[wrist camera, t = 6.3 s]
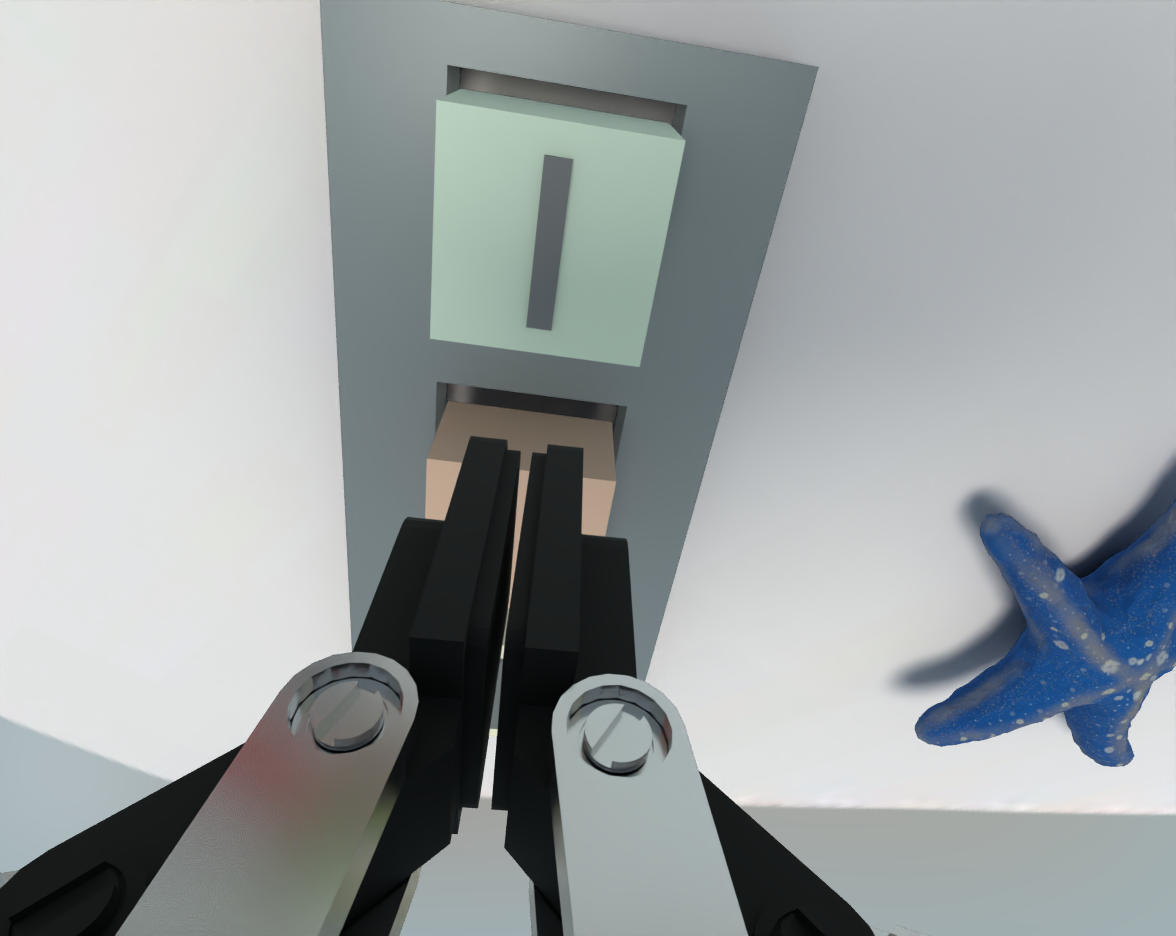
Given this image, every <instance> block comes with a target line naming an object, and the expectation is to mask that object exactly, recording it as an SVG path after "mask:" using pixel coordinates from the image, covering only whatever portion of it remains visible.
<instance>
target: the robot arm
mask: <svg viewBox="0 0 1176 936" xmlns="http://www.w3.org/2000/svg"><path fill="white" fill-rule="evenodd" d="M583 454H584V448H580V447H570V446H561V445H552V444H548V446H547V454H546V453H536V452H532V457H531V464H530V471H529V478H528V485H527V491H526V498H525V505H524V512H523V519H522V526H521V532H520V539H519V546H518V553H517V560H516V567H515V573H514V580H513V587H512V594H511V601H510V608H509V614H508V621H507V629H506V636H505V645H504V654H503V665H502V678H501V691H500V704H499V717H498V730H497V743H496V756H495V769H494V782H493V795H492V808H491V809H493V810H507V811H508V817H507V826H506V836H505V846H504V847H505V849H506V850H507V851H508V852H509V854H510V855H511V856H512V857H513V858H514V860H515V861H516V862H517V863H518V865H519V866H520V867H521V868H522V869H523V871H524V872H525V873H526V874H527V876H528V877H529V878H530V882H529V901H530V917H531V932H532V936H929V935H926V934H923V933H919V932H917V931H914V930H910V929H907V928H904V927H901V926H898V925H896V926H895V927H894V928H893V930H892V931H891V932H890V933H888V932H885V931H882V930H879V929H876V928H873V927H870V926H869V925H868V924H867V923H866V922H865V921H864V920H863V919H862V918H861V917H860V916H859V915H858V913H857V912H856V911H855V910H854V909H853V908H852V907H851V906H850V905H849V904H848V903H847V902H846V901H845V900H843V898H841V897H840V896H839V895H838V894H837V893H836V892H835V891H834V890H832V889H831V888H830V887H829V886H828V885H827V884H826V883H825V882H823V881H822V880H821V879H820V878H819V877H818V876H817V875H816V874H814V873H813V872H812V871H811V870H810V869H809V868H808V867H806V866H805V865H804V864H803V863H802V862H801V861H800V860H799V859H797V858H796V857H795V856H794V855H793V854H792V853H791V852H790V851H788V850H787V849H786V848H785V847H784V846H783V845H782V844H781V843H779V842H778V841H777V840H776V839H775V838H774V837H773V836H771V835H770V834H769V833H768V832H767V831H766V830H765V829H764V828H763V827H761V826H760V825H759V824H758V823H757V822H756V821H755V820H754V819H752V818H751V817H750V816H749V815H748V814H747V813H746V812H745V811H743V810H742V809H741V808H740V807H739V806H738V805H737V804H736V803H734V802H733V801H732V800H731V799H730V798H729V797H728V796H727V795H725V794H724V793H723V792H722V791H721V790H720V789H719V788H718V787H716V786H715V785H714V784H713V783H712V782H711V781H710V780H709V779H707V778H706V777H705V776H704V775H703V774H702V773H701V772H700V771H699V770H698V767H697V764H696V760H695V757H694V754H693V750H692V747H691V744H690V741H689V737H688V734H687V731H686V727H685V724H684V722H683V720H682V718H681V716H680V714H679V712H678V710H677V708H676V707H675V706H674V704H673V703H672V702H671V701H670V700H669V699H668V698H667V697H666V696H665V694H664V693H662V692H661V691H659V690H658V689H656V688H655V687H653V686H652V685H650V684H648V683H647V682H644V681H642V680H639V679H637V670H636V655H635V640H634V625H633V610H632V595H631V580H630V565H629V550H628V542H627V539H626V538H616V537H606V536H596V535H586V534H582V495H583ZM520 459H521V451H518V450H508V440H505V439H496V438H486V437H477V436H470V439H469V442H468V445H467V448H466V452H465V455H464V458H463V462H462V465H461V468H460V471H459V475H458V478H457V481H456V485H455V488H454V491H453V494H452V498H451V501H450V504H449V507H448V511H447V514H446V517H445V520H435V519H425V518H415V517H407V518H406V519H405V520H404V522H403V524H402V526H401V528H400V531H399V533H398V536H397V538H396V541H395V543H394V546H393V549H392V551H391V554H390V556H389V559H388V561H387V564H386V567H385V569H384V572H383V574H382V577H381V579H380V582H379V585H378V587H377V590H376V592H375V595H374V597H373V600H372V603H371V605H370V608H369V610H368V613H367V615H366V618H365V621H364V623H363V626H362V628H361V631H360V633H359V636H358V639H357V641H356V644H355V646H354V649H353V651H352V652H350V653H344V654H337V655H332V656H330V657H327V658H325V659H322V660H319V661H317V662H314V663H312V664H311V665H309V666H308V667H306V668H305V669H303V670H302V671H300V672H299V673H297V674H296V675H294V676H293V677H292V679H291V680H290V681H289V682H288V683H287V684H286V685H285V686H284V687H283V689H282V690H281V691H280V692H279V694H278V695H277V697H276V698H275V700H274V701H273V703H272V704H271V705H270V707H269V708H268V710H267V711H266V713H265V714H264V716H263V717H262V719H261V720H260V722H259V723H258V725H257V726H256V728H255V729H254V731H253V732H252V734H251V735H250V737H249V738H248V740H247V741H246V743H244V744H242V745H240V746H238V747H236V748H235V749H233V750H231V751H229V752H227V753H225V754H224V755H222V756H220V757H218V758H216V759H214V760H213V761H211V762H209V763H207V764H205V765H204V766H202V767H200V768H198V769H196V770H194V771H193V772H191V773H189V774H187V775H185V776H183V777H182V778H180V779H178V780H176V781H174V782H172V783H171V784H169V785H167V786H165V787H163V788H161V789H160V790H158V791H156V792H154V793H153V794H150V795H149V796H147V797H145V798H143V799H142V800H140V801H138V802H136V803H134V804H132V805H130V806H129V807H127V808H125V809H123V810H121V811H119V812H118V813H116V814H114V815H112V816H110V817H108V818H107V819H105V820H103V821H101V822H99V823H97V824H96V825H94V826H92V827H90V828H88V829H86V830H85V831H83V832H81V833H79V834H77V835H75V836H74V837H72V838H70V839H68V840H66V841H65V842H63V843H61V844H59V845H57V846H55V847H54V848H52V849H50V850H48V851H47V852H45V853H44V854H43V855H41V856H39V857H38V858H36V859H35V860H33V861H32V862H30V863H29V864H27V865H26V866H24V867H23V868H21V869H20V870H17V871H12V872H5V873H0V936H399V935H400V933H401V930H402V927H403V924H404V921H405V918H406V916H407V913H408V910H409V907H410V904H411V902H412V899H413V896H414V893H415V890H416V887H417V884H418V881H419V876H420V871H421V866H422V865H423V864H425V863H426V862H427V861H428V860H430V859H431V858H432V857H433V856H435V855H436V854H437V853H439V852H440V851H441V850H442V849H444V848H445V847H446V846H448V845H449V844H450V841H451V835H452V834H458V829H459V822H460V816H461V811H462V807H467V808H478V804H479V799H480V793H481V786H482V779H483V773H484V766H485V759H486V752H487V746H488V739H489V732H490V726H491V719H492V712H493V705H494V699H495V692H496V685H497V679H498V672H499V665H500V658H501V652H502V645H503V638H504V631H505V625H506V618H507V611H508V604H509V596H510V586H511V573H512V560H513V548H514V535H515V523H516V510H517V497H518V485H519V472H520Z"/></svg>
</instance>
